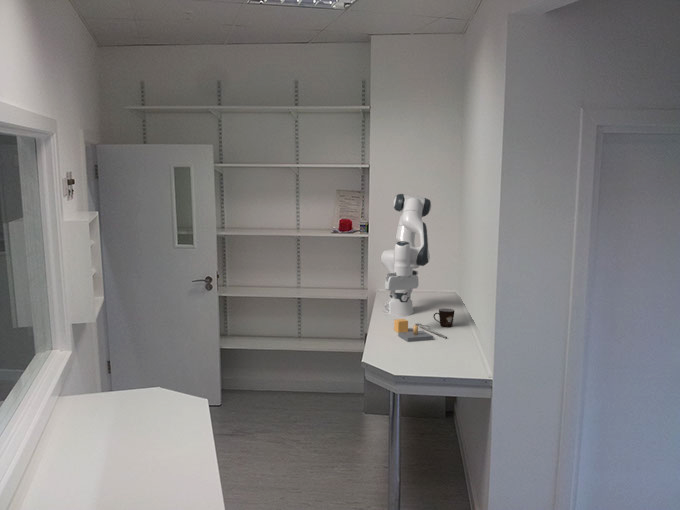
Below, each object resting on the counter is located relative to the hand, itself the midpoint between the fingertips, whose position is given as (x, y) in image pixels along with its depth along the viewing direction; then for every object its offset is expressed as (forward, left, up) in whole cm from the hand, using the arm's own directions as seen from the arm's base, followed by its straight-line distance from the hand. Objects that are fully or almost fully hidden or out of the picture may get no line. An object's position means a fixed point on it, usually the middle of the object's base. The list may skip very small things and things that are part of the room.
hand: (401, 297), depth 314 cm
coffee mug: (-1, +26, -19) cm, 32 cm away
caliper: (+7, +18, -19) cm, 27 cm away
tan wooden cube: (0, 0, -18) cm, 18 cm away
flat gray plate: (+16, +1, -18) cm, 24 cm away
